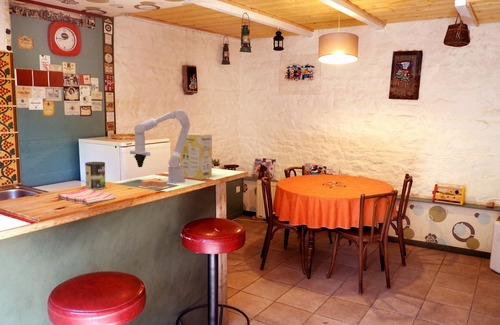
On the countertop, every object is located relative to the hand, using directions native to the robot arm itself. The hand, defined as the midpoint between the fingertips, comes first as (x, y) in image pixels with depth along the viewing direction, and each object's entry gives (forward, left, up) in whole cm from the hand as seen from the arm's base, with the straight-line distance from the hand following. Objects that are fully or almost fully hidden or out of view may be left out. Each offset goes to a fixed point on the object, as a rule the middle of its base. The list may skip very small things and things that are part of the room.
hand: (140, 167), depth 246 cm
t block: (+4, +16, -9) cm, 19 cm away
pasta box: (-36, +14, -10) cm, 40 cm away
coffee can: (+26, -8, -10) cm, 29 cm away
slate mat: (+4, +9, -9) cm, 14 cm away
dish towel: (+45, +9, -10) cm, 47 cm away
